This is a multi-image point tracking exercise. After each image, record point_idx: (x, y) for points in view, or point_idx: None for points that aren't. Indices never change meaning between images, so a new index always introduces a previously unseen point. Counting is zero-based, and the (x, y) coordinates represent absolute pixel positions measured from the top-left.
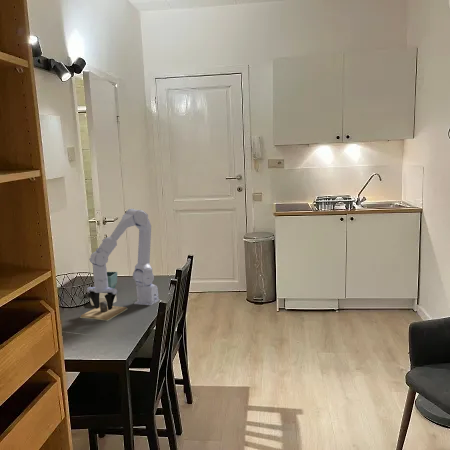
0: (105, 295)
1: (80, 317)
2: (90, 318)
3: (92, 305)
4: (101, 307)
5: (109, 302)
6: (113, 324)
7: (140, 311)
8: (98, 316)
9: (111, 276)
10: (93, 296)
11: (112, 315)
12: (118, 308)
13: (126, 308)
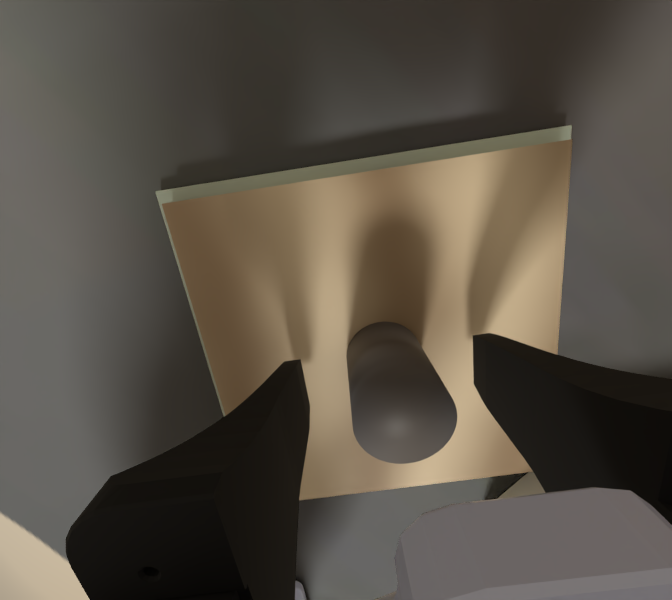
0: (191, 509)
1: (556, 129)
2: (406, 154)
3: None
4: (389, 347)
5: (226, 418)
6: (22, 140)
7: None
8: (316, 203)
9: None
10: (628, 424)
11: (190, 296)
12: None
13: None
